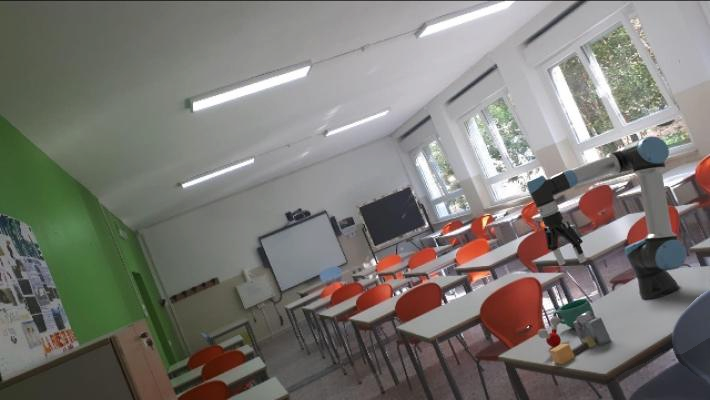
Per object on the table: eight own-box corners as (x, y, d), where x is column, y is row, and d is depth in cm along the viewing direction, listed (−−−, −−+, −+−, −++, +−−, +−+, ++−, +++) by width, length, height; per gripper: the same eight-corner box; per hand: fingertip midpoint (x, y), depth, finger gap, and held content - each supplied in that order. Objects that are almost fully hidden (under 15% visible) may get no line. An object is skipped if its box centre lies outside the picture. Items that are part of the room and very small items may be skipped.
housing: (592, 338, 221) (579, 310, 222) (611, 340, 211) (597, 311, 212) (582, 344, 220) (569, 316, 221) (600, 346, 209) (587, 316, 210)
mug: (601, 316, 244) (592, 296, 244) (591, 328, 234) (582, 306, 235) (566, 324, 255) (557, 304, 256) (555, 335, 246) (546, 314, 246)
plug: (589, 343, 217) (583, 331, 217) (596, 344, 213) (591, 332, 213) (554, 363, 212) (549, 350, 213) (562, 364, 208) (556, 351, 208)
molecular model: (555, 353, 222) (544, 329, 223) (542, 356, 226) (531, 332, 226) (569, 336, 236) (559, 313, 236) (557, 339, 239) (547, 316, 240)
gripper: (526, 221, 239) (547, 268, 238) (561, 212, 215) (585, 264, 214) (540, 215, 241) (561, 261, 240) (576, 205, 217) (600, 256, 216)
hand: (572, 263), depth 227 cm, fingers open, 13 cm apart
